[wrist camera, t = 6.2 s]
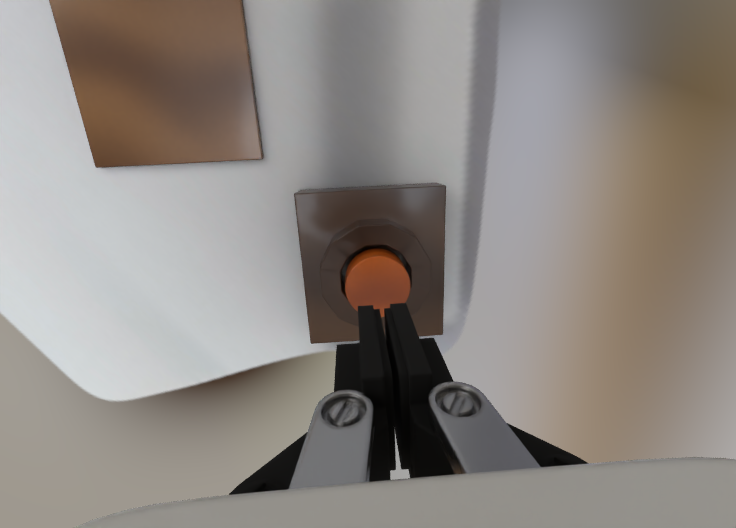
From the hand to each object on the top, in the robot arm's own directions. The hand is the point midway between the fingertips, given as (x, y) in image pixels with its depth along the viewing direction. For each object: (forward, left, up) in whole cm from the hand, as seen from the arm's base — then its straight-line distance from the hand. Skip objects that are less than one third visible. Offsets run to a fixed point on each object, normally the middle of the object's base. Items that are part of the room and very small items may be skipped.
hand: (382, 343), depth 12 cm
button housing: (+1, 0, -12) cm, 12 cm away
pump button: (+1, 0, -9) cm, 9 cm away
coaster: (-11, -11, -12) cm, 20 cm away
